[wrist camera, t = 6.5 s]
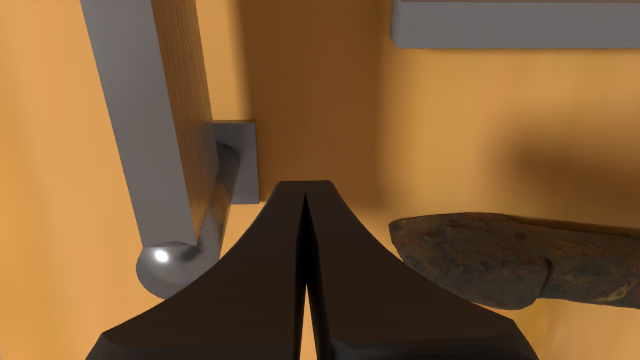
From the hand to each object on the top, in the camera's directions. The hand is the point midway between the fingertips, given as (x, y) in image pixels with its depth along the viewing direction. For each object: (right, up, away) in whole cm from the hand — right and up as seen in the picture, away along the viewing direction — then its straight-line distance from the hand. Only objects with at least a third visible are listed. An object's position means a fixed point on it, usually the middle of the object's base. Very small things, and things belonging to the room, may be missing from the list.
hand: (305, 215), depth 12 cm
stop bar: (+13, +7, +7) cm, 17 cm away
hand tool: (+13, -3, +13) cm, 19 cm away
